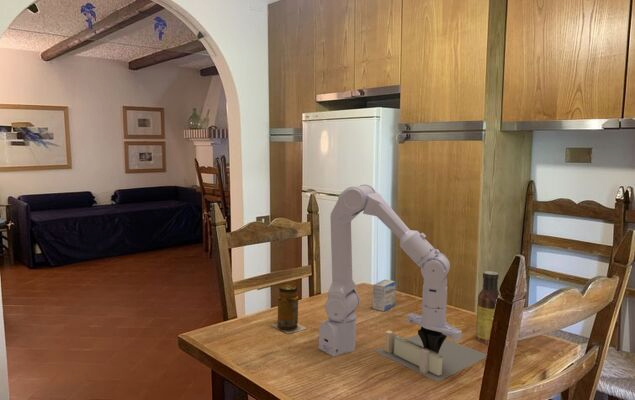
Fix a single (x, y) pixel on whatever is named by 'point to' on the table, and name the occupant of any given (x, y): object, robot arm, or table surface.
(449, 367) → the grey square baseplate
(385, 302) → the medicine box
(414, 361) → the gate
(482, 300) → the sauce bottle
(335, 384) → the table surface
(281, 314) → the condiment
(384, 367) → the table surface
